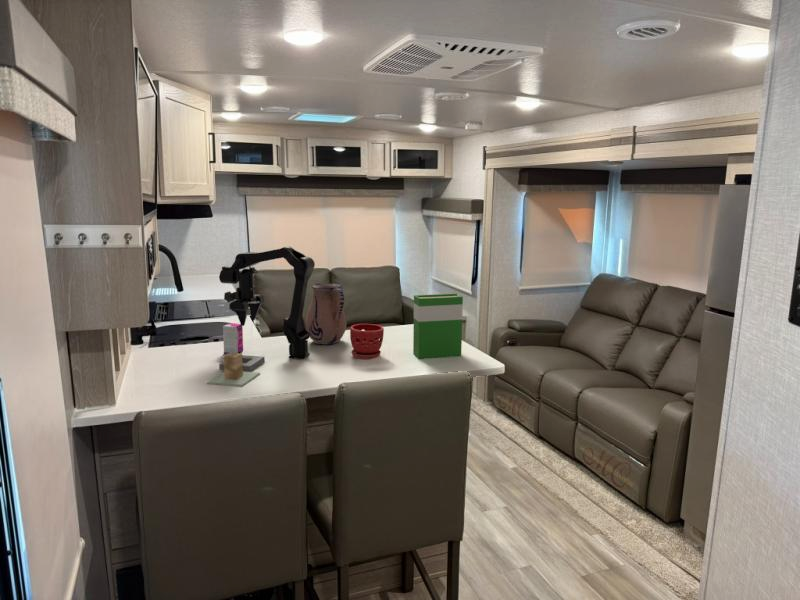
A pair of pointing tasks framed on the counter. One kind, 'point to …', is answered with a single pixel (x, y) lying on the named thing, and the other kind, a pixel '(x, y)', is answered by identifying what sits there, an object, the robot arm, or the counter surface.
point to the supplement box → (233, 338)
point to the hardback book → (437, 326)
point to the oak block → (233, 366)
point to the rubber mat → (239, 382)
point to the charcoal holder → (248, 363)
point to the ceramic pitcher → (326, 314)
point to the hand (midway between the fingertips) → (248, 322)
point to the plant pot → (366, 340)
